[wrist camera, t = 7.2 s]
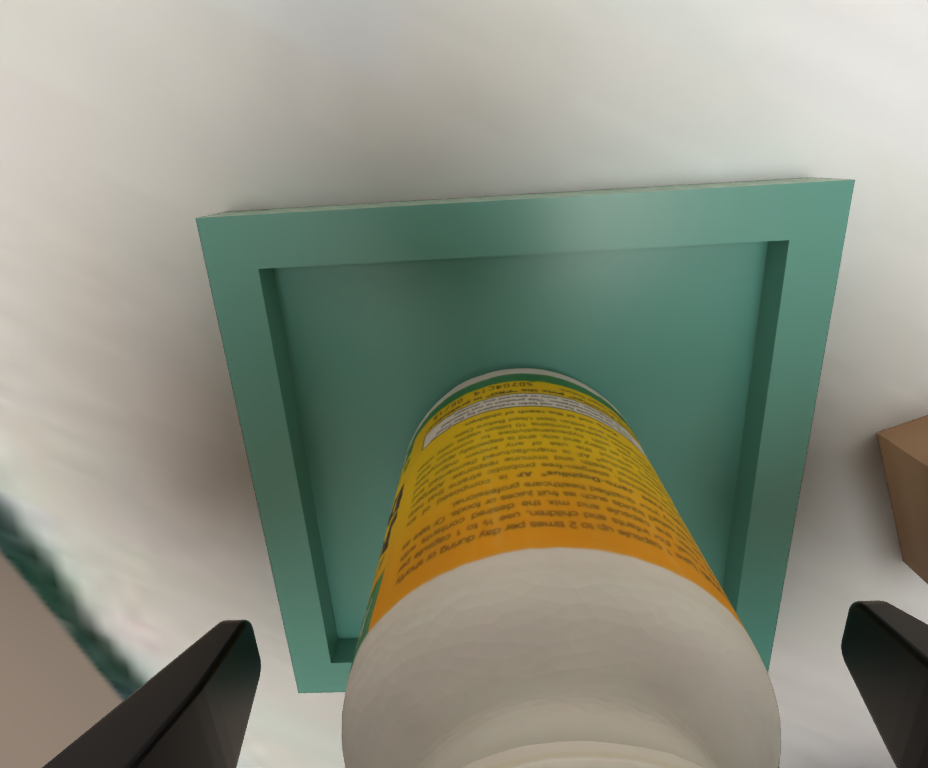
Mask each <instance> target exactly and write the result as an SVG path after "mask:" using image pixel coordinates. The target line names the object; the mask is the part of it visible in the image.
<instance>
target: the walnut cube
mask: <svg viewBox="0 0 928 768" xmlns="http://www.w3.org/2000/svg"><path fill="white" fill-rule="evenodd" d="M877 436H878V441H879V446H880V451H881V456H882V461H883V465H884V470H885V475H886V480H887V485H888V490H889V495H890V500H891V505H892V509H893V514H894V519H895V524H896V529H897V534H898V539H899V544H900V548H901V553H902V558H903V561H904V562H905V563H906V564H907V565H908V566H909V567H910V568H911V569H912V570H913V571H914V572H915V573H917V574H918V575H919V576H920V577H921V578H922V579H923V580H924V581H925V582H926V583H927V584H928V415H927V416H924V417H921V418H918V419H915V420H912V421H909V422H906V423H903V424H900V425H897V426H895V427H892V428H889V429H886V430H883V431H880V432H877Z"/></svg>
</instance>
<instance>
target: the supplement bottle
mask: <svg viewBox="0 0 928 768" xmlns="http://www.w3.org/2000/svg"><path fill="white" fill-rule="evenodd" d="M342 749H343V756H344V762H345V767H346V768H779V763H780V753H781V728H780V717H779V711H778V706H777V701H776V697H775V693H774V690H773V687H772V684H771V681H770V678H769V675H768V673H767V670H766V668H765V666H764V664H763V662H762V660H761V658H760V655H759V653H758V651H757V650H756V648H755V646H754V644H753V642H752V640H751V639H750V637H749V635H748V633H747V631H746V630H745V628H744V626H743V624H742V623H741V621H740V619H739V617H738V616H737V614H736V612H735V610H734V609H733V607H732V605H731V603H730V602H729V600H728V598H727V596H726V595H725V593H724V591H723V589H722V588H721V586H720V584H719V582H718V581H717V579H716V577H715V576H714V574H713V572H712V570H711V569H710V567H709V565H708V563H707V562H706V560H705V558H704V556H703V555H702V553H701V551H700V549H699V548H698V546H697V544H696V543H695V541H694V539H693V537H692V536H691V534H690V532H689V530H688V529H687V527H686V525H685V523H684V522H683V520H682V518H681V517H680V515H679V513H678V511H677V509H676V508H675V506H674V504H673V502H672V500H671V498H670V496H669V495H668V493H667V491H666V490H665V488H664V486H663V484H662V482H661V481H660V479H659V477H658V475H657V474H656V472H655V470H654V468H653V467H652V465H651V463H650V461H649V460H648V458H647V456H646V454H645V452H644V451H643V449H642V447H641V445H640V443H639V441H638V440H637V438H636V436H635V434H634V433H633V431H632V429H631V428H630V426H629V425H628V423H627V422H626V420H625V419H624V418H623V416H622V415H621V414H620V412H619V411H618V410H617V409H616V408H615V407H614V406H613V405H612V404H611V403H610V402H609V401H608V400H607V399H605V398H604V397H603V396H601V395H600V394H599V393H597V392H596V391H594V390H593V389H591V388H590V387H588V386H587V385H585V384H583V383H581V382H579V381H577V380H575V379H573V378H570V377H568V376H565V375H562V374H559V373H556V372H552V371H547V370H542V369H532V368H516V369H504V370H499V371H494V372H490V373H487V374H484V375H481V376H478V377H475V378H472V379H470V380H467V381H465V382H463V383H461V384H460V385H458V386H456V387H455V388H454V389H452V390H451V391H450V392H448V393H447V394H446V395H445V396H444V397H443V398H441V399H440V400H439V401H438V402H437V403H436V404H435V405H434V406H433V407H432V409H431V410H430V411H429V412H428V413H427V414H426V416H425V417H424V419H423V420H422V421H421V423H420V424H419V426H418V428H417V430H416V432H415V434H414V436H413V437H412V440H411V442H410V444H409V447H408V450H407V453H406V457H405V460H404V464H403V467H402V472H401V475H400V479H399V482H398V487H397V492H396V496H395V499H394V503H393V507H392V511H391V515H390V518H389V521H388V525H387V530H386V535H385V539H384V543H383V548H382V551H381V554H380V558H379V563H378V566H377V569H376V573H375V577H374V582H373V586H372V589H371V593H370V597H369V601H368V605H367V608H366V612H365V616H364V619H363V623H362V627H361V631H360V634H359V639H358V643H357V646H356V650H355V655H354V658H353V662H352V665H351V669H350V672H349V677H348V682H347V687H346V693H345V699H344V705H343V711H342Z"/></svg>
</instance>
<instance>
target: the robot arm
mask: <svg viewBox="0 0 928 768" xmlns="http://www.w3.org/2000/svg"><path fill="white" fill-rule="evenodd" d="M841 649H842V655H843V658H844V661H845V663H846V665H847V668H848V670H849V672H850V674H851V676H852V678H853V680H854V682H855V684H856V686H857V688H858V690H859V692H860V694H861V696H862V698H863V700H864V702H865V704H866V706H867V709H868V711H869V713H870V715H871V717H872V719H873V721H874V723H875V725H876V727H877V729H878V731H879V733H880V735H881V737H882V739H883V741H884V743H885V745H886V747H887V749H888V752H889V753H890V755H891V757H892V759H893V761H894V763H895V765H896V767H897V768H928V625H927V624H925V623H924V622H922V621H920V620H918V619H916V618H914V617H913V616H911V615H909V614H907V613H905V612H904V611H902V610H900V609H898V608H896V607H895V606H893V605H891V604H889V603H887V602H884V601H857V602H854V603H853V604H852V605H851V606H850V609H849V612H848V617H847V621H846V625H845V630H844V634H843V638H842V644H841ZM260 671H261V661H260V656H259V652H258V648H257V643H256V639H255V635H254V631H253V627H252V625H251V623H250V622H249V621H247V620H226V621H222V622H220V623H219V624H217V625H216V626H215V627H213V628H212V629H211V630H210V631H209V632H207V633H206V634H205V635H204V636H202V637H201V638H200V639H199V640H198V641H196V642H195V643H194V644H193V645H191V646H190V647H189V648H188V649H187V650H185V651H184V652H183V653H182V654H180V655H179V656H178V657H177V658H176V659H174V660H173V661H172V662H171V663H169V664H168V665H167V666H166V667H165V668H163V669H162V670H161V671H160V672H158V673H157V674H156V675H155V676H154V677H152V678H151V679H150V680H149V681H147V682H146V683H145V684H144V685H143V686H141V687H140V688H139V689H138V690H136V691H135V692H134V693H133V694H132V695H130V696H129V697H128V698H127V699H125V700H124V701H123V702H122V703H121V704H119V705H118V706H117V707H116V708H114V709H113V710H112V711H111V712H110V713H108V714H107V715H106V716H105V717H103V718H102V719H101V720H100V721H99V722H97V723H96V724H95V725H94V726H92V727H91V728H90V729H89V730H88V731H86V732H85V733H84V734H83V735H81V736H80V737H79V738H78V739H77V740H75V741H74V742H73V743H72V744H71V745H69V746H68V747H67V748H66V749H64V750H63V751H62V752H61V753H59V754H58V755H57V756H56V757H55V758H53V759H52V760H51V761H50V762H48V763H47V764H46V765H45V766H44V767H42V768H236V766H237V763H238V759H239V755H240V751H241V747H242V743H243V739H244V735H245V732H246V728H247V724H248V720H249V716H250V712H251V708H252V704H253V701H254V697H255V693H256V689H257V685H258V681H259V677H260Z"/></svg>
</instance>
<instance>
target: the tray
mask: <svg viewBox="0 0 928 768" xmlns="http://www.w3.org/2000/svg"><path fill="white" fill-rule="evenodd" d="M854 182H855V180H850V179H830V178H797V179H780V180H763V181H746V182H729V183H711V184H694V185H677V186H660V187H643V188H626V189H609V190H592V191H574V192H557V193H540V194H523V195H506V196H489V197H472V198H455V199H438V200H420V201H403V202H386V203H369V204H352V205H335V206H318V207H301V208H283V209H266V210H249V211H232V212H223V213H218V214H213V215H208V216H203V217H198V218H196V222H197V227H198V231H199V236H200V241H201V245H202V250H203V254H204V259H205V264H206V268H207V273H208V278H209V282H210V287H211V291H212V296H213V301H214V305H215V310H216V314H217V319H218V324H219V328H220V333H221V338H222V342H223V347H224V351H225V356H226V361H227V365H228V370H229V375H230V379H231V384H232V388H233V393H234V398H235V402H236V407H237V411H238V416H239V421H240V425H241V430H242V435H243V439H244V444H245V448H246V453H247V458H248V462H249V467H250V472H251V476H252V481H253V485H254V490H255V495H256V499H257V504H258V508H259V513H260V518H261V522H262V527H263V532H264V536H265V541H266V545H267V550H268V555H269V559H270V564H271V569H272V573H273V578H274V582H275V587H276V592H277V596H278V601H279V605H280V610H281V615H282V619H283V624H284V629H285V633H286V638H287V642H288V647H289V652H290V656H291V661H292V666H293V670H294V675H295V679H296V684H297V689H298V693H322V692H346V687H347V682H348V677H349V672H350V669H351V665H352V662H353V658H354V655H355V650H356V646H357V643H358V639H359V634H360V631H361V627H362V623H363V619H364V616H365V612H366V608H367V605H368V601H369V597H370V593H371V589H372V586H373V582H374V577H375V573H376V569H377V566H378V563H379V558H380V554H381V551H382V548H383V543H384V539H385V535H386V530H387V525H388V521H389V518H390V515H391V511H392V507H393V503H394V499H395V496H396V492H397V487H398V482H399V479H400V475H401V472H402V467H403V464H404V460H405V457H406V453H407V450H408V447H409V444H410V442H411V440H412V437H413V436H414V434H415V432H416V430H417V428H418V426H419V424H420V423H421V421H422V420H423V419H424V417H425V416H426V414H427V413H428V412H429V411H430V410H431V409H432V407H433V406H434V405H435V404H436V403H437V402H438V401H439V400H440V399H441V398H443V397H444V396H445V395H446V394H447V393H448V392H450V391H451V390H452V389H454V388H455V387H456V386H458V385H460V384H461V383H463V382H465V381H467V380H470V379H472V378H475V377H478V376H481V375H484V374H487V373H490V372H494V371H499V370H504V369H516V368H532V369H542V370H547V371H552V372H556V373H559V374H562V375H565V376H568V377H570V378H573V379H575V380H577V381H579V382H581V383H583V384H585V385H587V386H588V387H590V388H591V389H593V390H594V391H596V392H597V393H599V394H600V395H601V396H603V397H604V398H605V399H607V400H608V401H609V402H610V403H611V404H612V405H613V406H614V407H615V408H616V409H617V410H618V411H619V412H620V414H621V415H622V416H623V418H624V419H625V420H626V422H627V423H628V425H629V426H630V428H631V429H632V431H633V433H634V434H635V436H636V438H637V440H638V441H639V443H640V445H641V447H642V449H643V451H644V452H645V454H646V456H647V458H648V460H649V461H650V463H651V465H652V467H653V468H654V470H655V472H656V474H657V475H658V477H659V479H660V481H661V482H662V484H663V486H664V488H665V490H666V491H667V493H668V495H669V496H670V498H671V500H672V502H673V504H674V506H675V508H676V509H677V511H678V513H679V515H680V517H681V518H682V520H683V522H684V523H685V525H686V527H687V529H688V530H689V532H690V534H691V536H692V537H693V539H694V541H695V543H696V544H697V546H698V548H699V549H700V551H701V553H702V555H703V556H704V558H705V560H706V562H707V563H708V565H709V567H710V569H711V570H712V572H713V574H714V576H715V577H716V579H717V581H718V582H719V584H720V586H721V588H722V589H723V591H724V593H725V595H726V596H727V598H728V600H729V602H730V603H731V605H732V607H733V609H734V610H735V612H736V614H737V616H738V617H739V619H740V621H741V623H742V624H743V626H744V628H745V630H746V631H747V633H748V635H749V637H750V639H751V640H752V642H753V644H754V646H755V648H756V650H757V651H758V653H759V655H760V658H761V660H762V662H763V664H764V666H765V668H766V670H767V673H768V669H769V664H770V658H771V652H772V647H773V641H774V635H775V630H776V624H777V618H778V613H779V607H780V601H781V596H782V590H783V584H784V579H785V573H786V567H787V562H788V556H789V550H790V545H791V539H792V533H793V528H794V522H795V516H796V511H797V505H798V499H799V494H800V488H801V482H802V477H803V471H804V465H805V460H806V454H807V448H808V443H809V437H810V431H811V426H812V420H813V414H814V409H815V403H816V397H817V392H818V386H819V380H820V375H821V369H822V363H823V358H824V352H825V346H826V341H827V335H828V329H829V324H830V318H831V312H832V307H833V301H834V295H835V290H836V284H837V278H838V273H839V267H840V261H841V256H842V250H843V244H844V239H845V233H846V227H847V222H848V216H849V210H850V205H851V199H852V193H853V188H854Z"/></svg>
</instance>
